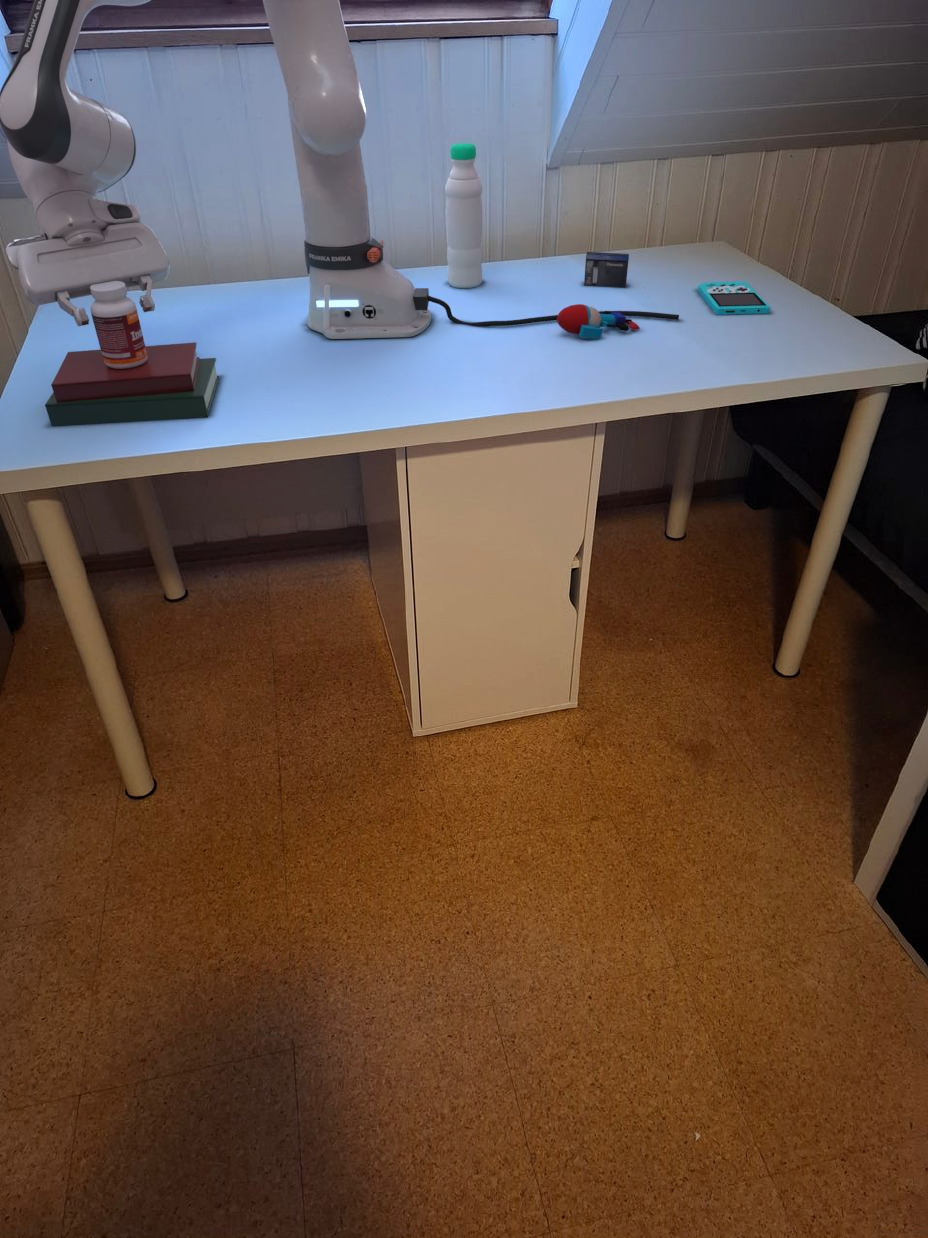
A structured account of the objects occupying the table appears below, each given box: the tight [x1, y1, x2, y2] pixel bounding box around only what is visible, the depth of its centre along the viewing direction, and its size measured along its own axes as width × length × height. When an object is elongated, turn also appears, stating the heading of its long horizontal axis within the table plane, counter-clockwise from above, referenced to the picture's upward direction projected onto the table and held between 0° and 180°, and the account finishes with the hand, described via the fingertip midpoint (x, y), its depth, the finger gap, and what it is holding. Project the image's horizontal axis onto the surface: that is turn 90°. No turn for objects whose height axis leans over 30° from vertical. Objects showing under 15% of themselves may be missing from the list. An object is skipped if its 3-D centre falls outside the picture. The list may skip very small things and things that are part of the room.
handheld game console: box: [697, 280, 771, 316], centre depth 164 cm, size 10×16×1 cm, turn 2°
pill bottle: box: [89, 281, 148, 369], centre depth 124 cm, size 6×6×11 cm
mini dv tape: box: [583, 251, 630, 289], centre depth 171 cm, size 8×2×6 cm, turn 77°
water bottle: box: [444, 142, 483, 289], centre depth 167 cm, size 7×7×25 cm
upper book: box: [51, 341, 201, 402], centre depth 128 cm, size 19×13×3 cm
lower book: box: [44, 357, 220, 427], centre depth 130 cm, size 22×15×3 cm
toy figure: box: [556, 303, 640, 340], centre depth 151 cm, size 8×5×15 cm
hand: (117, 316), depth 123 cm, fingers open, 8 cm apart
